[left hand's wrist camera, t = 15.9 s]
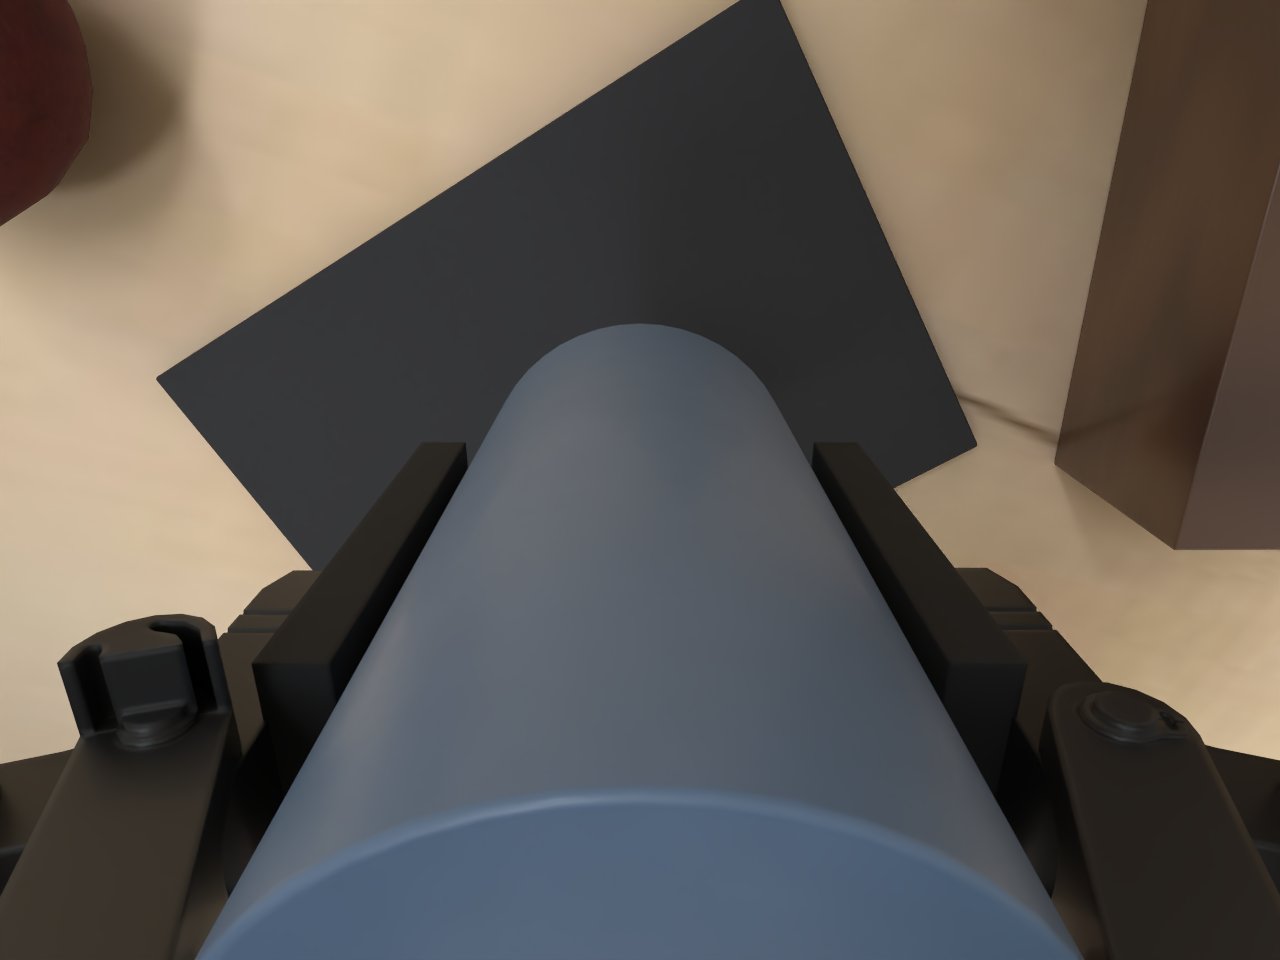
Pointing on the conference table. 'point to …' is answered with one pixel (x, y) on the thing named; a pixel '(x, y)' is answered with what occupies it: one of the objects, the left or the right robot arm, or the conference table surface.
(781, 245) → the mat
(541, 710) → the slate blue cylinder
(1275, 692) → the conference table surface
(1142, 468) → the brown rectangular block
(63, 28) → the potato
